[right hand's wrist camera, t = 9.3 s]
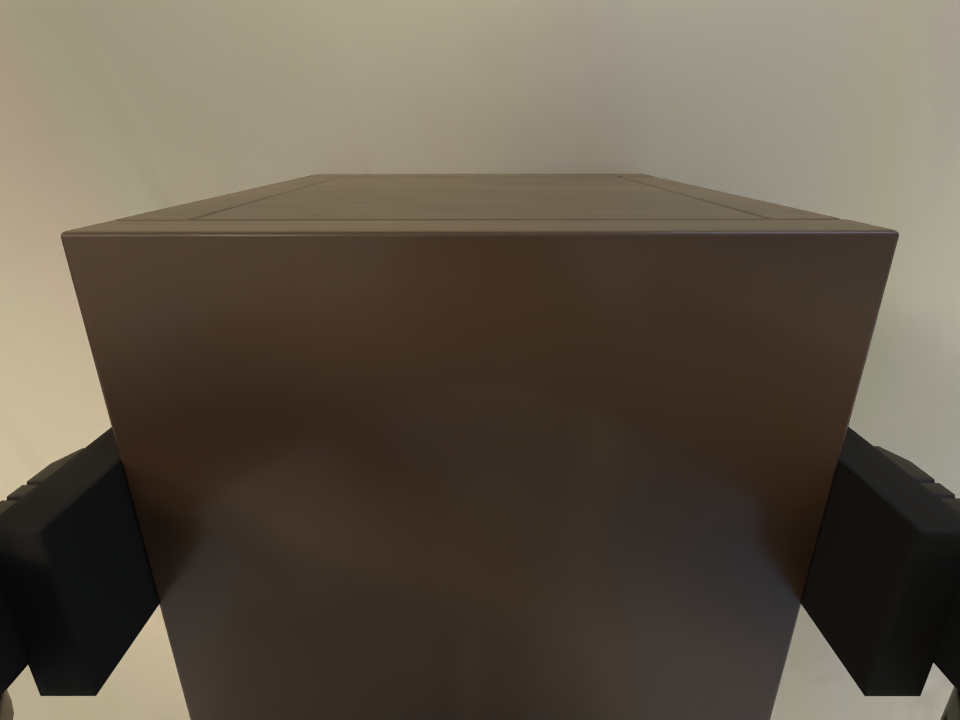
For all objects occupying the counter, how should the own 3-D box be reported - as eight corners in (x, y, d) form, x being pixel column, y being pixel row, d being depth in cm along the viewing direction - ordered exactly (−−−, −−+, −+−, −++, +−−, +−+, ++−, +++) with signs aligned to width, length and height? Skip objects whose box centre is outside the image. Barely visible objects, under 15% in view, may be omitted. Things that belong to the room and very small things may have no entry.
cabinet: (597, 645, 25) (687, 1033, 14) (362, 646, 25) (274, 1035, 14) (644, 173, 18) (902, 230, 7) (314, 174, 18) (57, 232, 7)
